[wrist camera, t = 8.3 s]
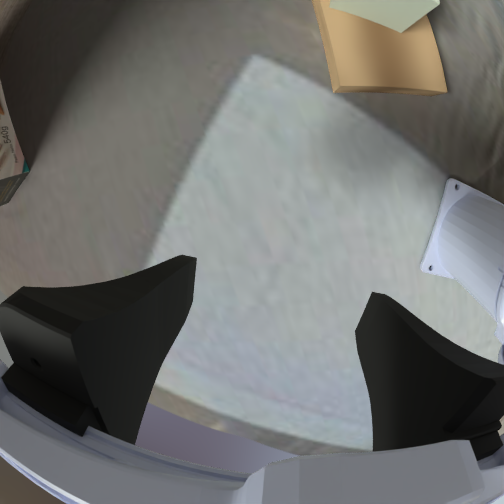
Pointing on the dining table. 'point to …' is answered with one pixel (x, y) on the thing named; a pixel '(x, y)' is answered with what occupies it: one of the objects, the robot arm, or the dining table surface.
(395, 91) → the tan block
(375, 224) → the dining table surface
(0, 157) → the cake mix box
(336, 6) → the sage block
